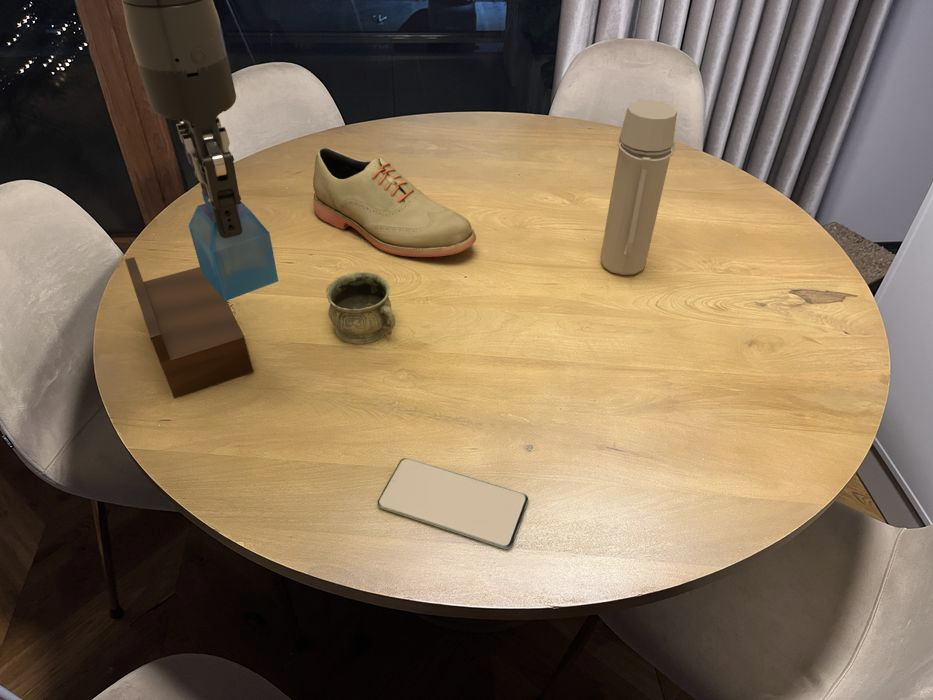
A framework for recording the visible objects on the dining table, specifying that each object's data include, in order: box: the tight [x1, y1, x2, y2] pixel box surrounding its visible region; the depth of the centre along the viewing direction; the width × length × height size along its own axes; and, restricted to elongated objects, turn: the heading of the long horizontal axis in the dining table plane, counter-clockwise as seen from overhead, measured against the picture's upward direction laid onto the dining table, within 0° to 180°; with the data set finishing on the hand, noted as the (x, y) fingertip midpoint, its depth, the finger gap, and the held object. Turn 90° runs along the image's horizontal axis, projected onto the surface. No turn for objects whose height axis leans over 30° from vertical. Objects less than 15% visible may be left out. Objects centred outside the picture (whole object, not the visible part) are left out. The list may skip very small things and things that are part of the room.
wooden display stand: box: [124, 256, 254, 399], centre depth 88 cm, size 18×10×10 cm, turn 29°
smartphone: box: [377, 457, 529, 550], centre depth 72 cm, size 7×1×15 cm
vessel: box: [325, 271, 396, 345], centre depth 93 cm, size 12×9×6 cm
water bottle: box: [599, 99, 678, 276], centre depth 98 cm, size 9×8×25 cm
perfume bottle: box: [188, 183, 279, 302], centre depth 71 cm, size 6×6×12 cm
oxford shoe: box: [312, 147, 477, 258], centre depth 109 cm, size 11×32×12 cm, turn 61°
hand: (225, 222), depth 70 cm, fingers closed on perfume bottle, 4 cm apart
